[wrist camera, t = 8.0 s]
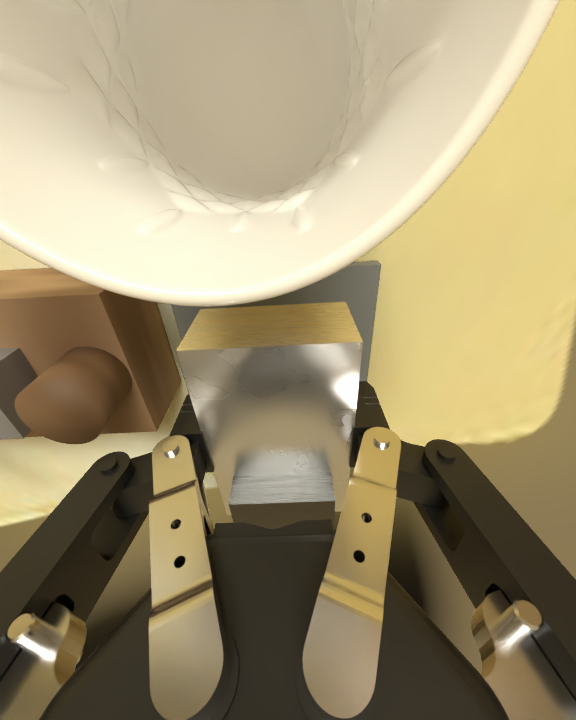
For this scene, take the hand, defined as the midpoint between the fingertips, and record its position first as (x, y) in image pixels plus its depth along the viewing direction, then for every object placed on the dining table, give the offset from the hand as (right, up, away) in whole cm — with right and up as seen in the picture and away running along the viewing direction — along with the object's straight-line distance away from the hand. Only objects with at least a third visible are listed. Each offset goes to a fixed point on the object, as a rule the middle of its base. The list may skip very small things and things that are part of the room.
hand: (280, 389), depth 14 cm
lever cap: (0, 0, 0) cm, 1 cm away
